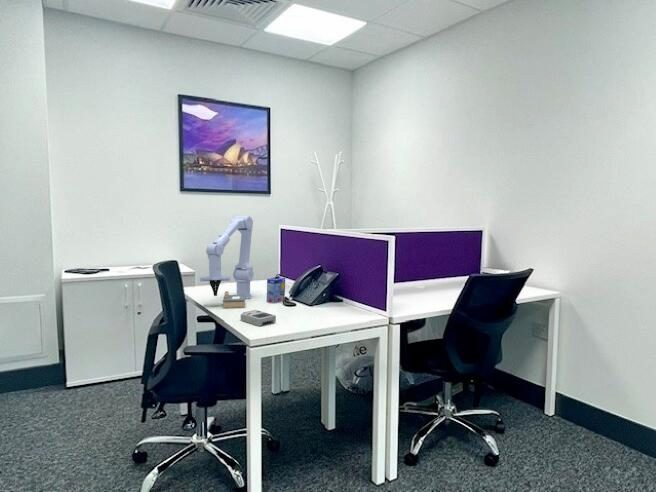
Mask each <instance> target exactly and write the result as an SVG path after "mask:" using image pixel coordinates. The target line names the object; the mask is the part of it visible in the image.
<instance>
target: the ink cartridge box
mask: <svg viewBox="0 0 656 492" xmlns="http://www.w3.org/2000/svg"><path fill="white" fill-rule="evenodd" d="M284 298H286V277H285V276H284V277H283V276H281V273H278V274H276V275H275V277H270V278H267V280H266V303H271V304H276V303H279V302H280V303H281V302H282V300H283V299H284ZM283 301H284V300H283Z"/></svg>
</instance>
